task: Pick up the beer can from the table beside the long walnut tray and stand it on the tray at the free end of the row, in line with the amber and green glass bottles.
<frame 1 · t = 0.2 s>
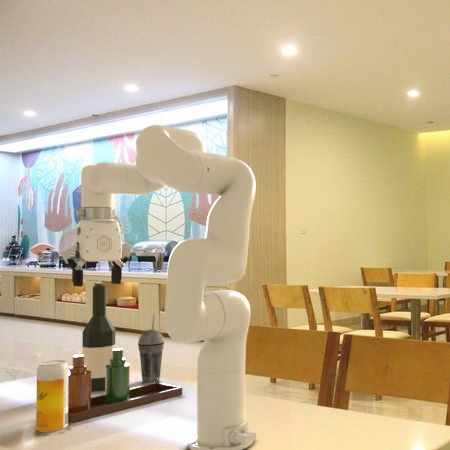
hand: (97, 284, 150), 31 cm above the table, tool pointing down, fingers open, 9 cm apart
beverage cup: (150, 383, 179), on the table
green bottle: (117, 405, 153), resting on tray
tray: (119, 407, 153), on the table
beer can: (52, 431, 134), on the table
amber bottle: (77, 415, 144), resting on tray
wine bottle: (98, 390, 170), on the table
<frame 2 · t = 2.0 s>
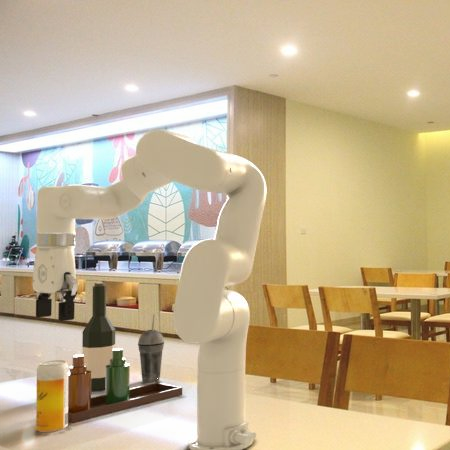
hand: (54, 318, 136), 25 cm above the table, tool pointing down, fingers open, 9 cm apart
nothing on the table moved.
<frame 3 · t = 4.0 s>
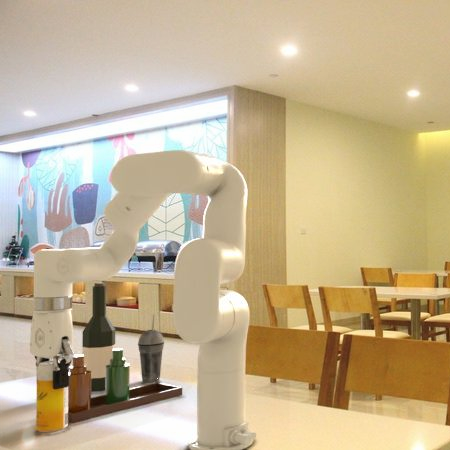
hand: (52, 385, 135), 10 cm above the table, tool pointing down, fingers closed on beer can, 6 cm apart
beer can: (52, 431, 134), on the table, touching gripper
everything else where it was.
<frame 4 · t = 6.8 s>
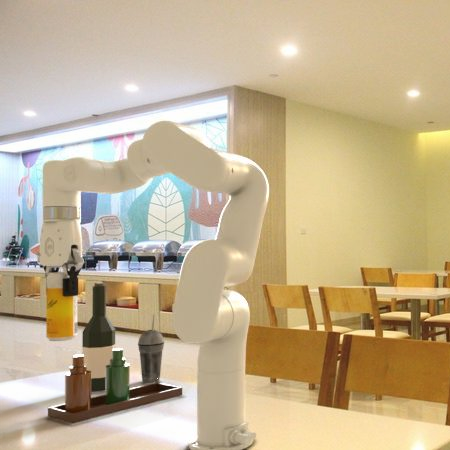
hand: (62, 294, 137), 30 cm above the table, tool pointing down, fingers closed on beer can, 6 cm apart
beer can: (62, 340, 136), point 20 cm above the table, touching gripper
everything else where it was.
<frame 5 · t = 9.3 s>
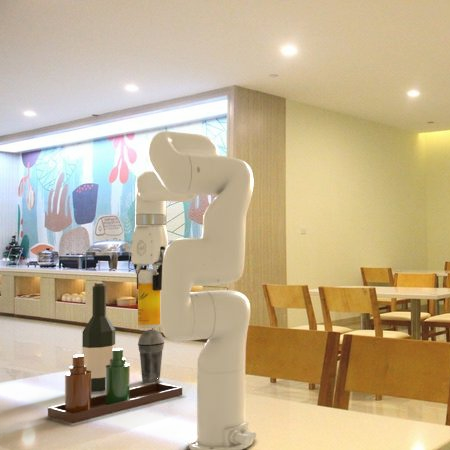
hand: (150, 288, 161), 29 cm above the table, tool pointing down, fingers closed on beer can, 6 cm apart
beer can: (150, 327, 161), point 19 cm above the table, touching gripper
everything else where it was.
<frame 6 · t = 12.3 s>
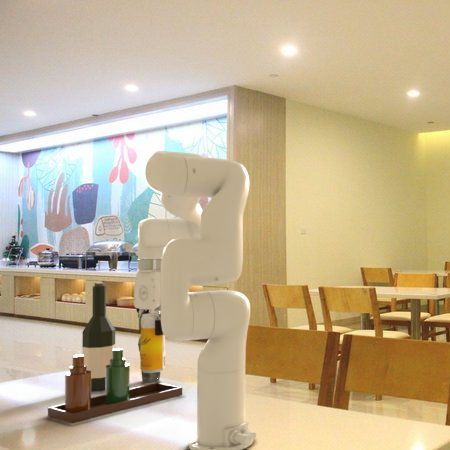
hand: (153, 333, 161), 17 cm above the table, tool pointing down, fingers closed on beer can, 6 cm apart
beer can: (152, 371, 161), point 7 cm above the table, touching gripper
everything else where it was.
when the fingers open (11 cm above the table, at t = 14.7 s): beer can stays where it is, resting on tray.
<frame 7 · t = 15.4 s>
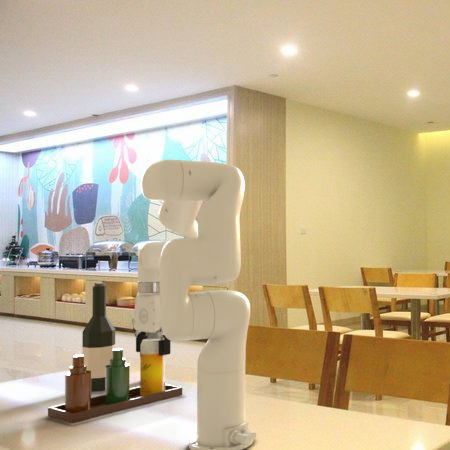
hand: (153, 353, 161), 12 cm above the table, tool pointing down, fingers open, 9 cm apart
beer can: (152, 397, 161), resting on tray
everything else where it was.
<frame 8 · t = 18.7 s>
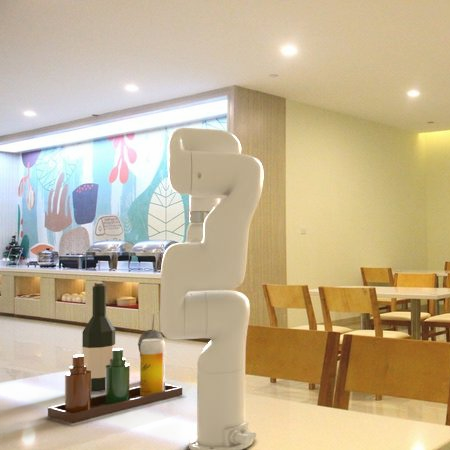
hand: (204, 284, 159), 30 cm above the table, tool pointing down, fingers open, 9 cm apart
nothing on the table moved.
at the end: beer can 0.1 cm from the target spot in the tray, point 0.4 cm above the tray's base; beer can tilted 0°; the gripper is holding nothing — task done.
